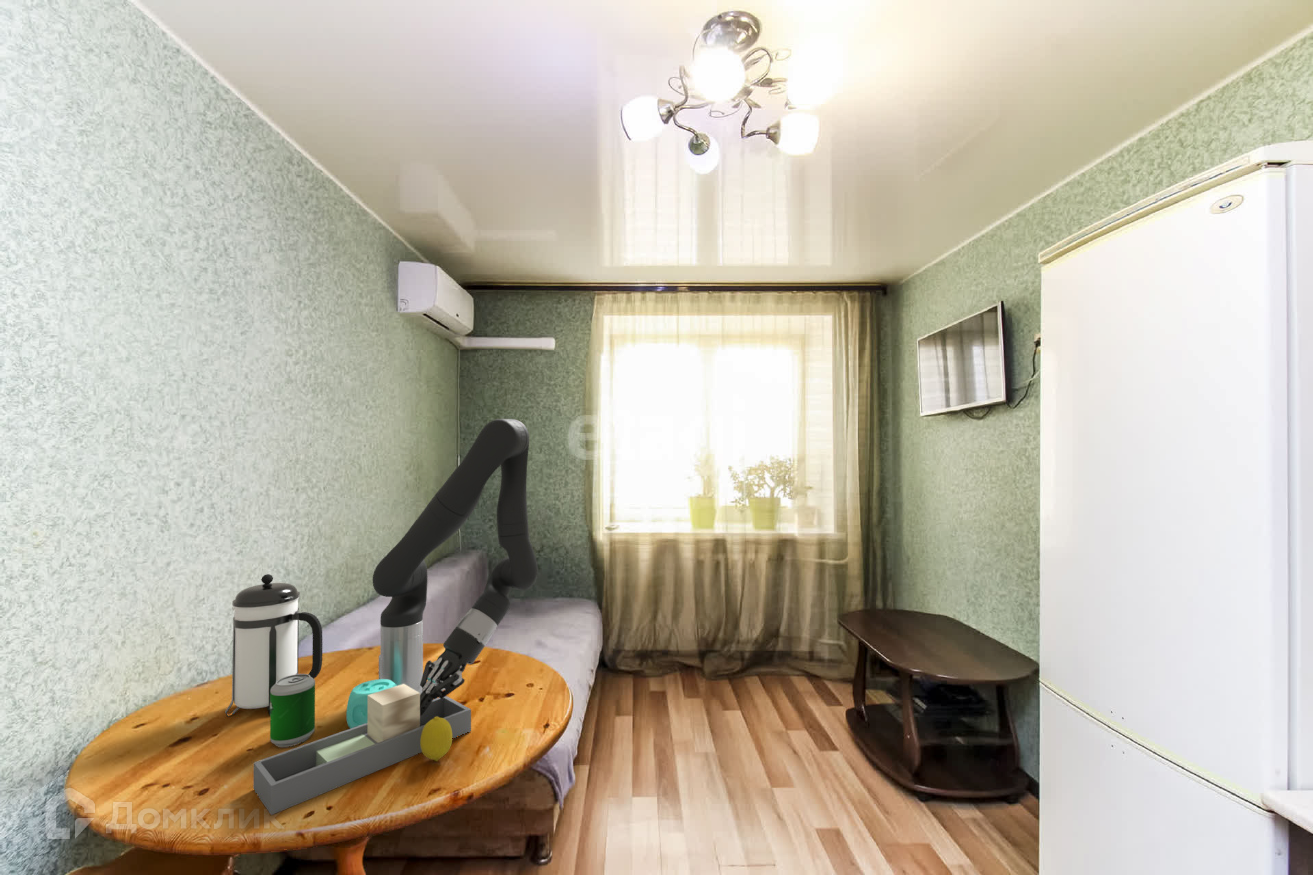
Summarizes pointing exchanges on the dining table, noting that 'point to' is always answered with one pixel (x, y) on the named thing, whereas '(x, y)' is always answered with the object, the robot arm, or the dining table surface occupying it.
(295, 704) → the soda can
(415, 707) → the ash block
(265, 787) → the tray
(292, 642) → the coffee press
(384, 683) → the decorative dice
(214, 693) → the dining table surface
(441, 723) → the lemon
